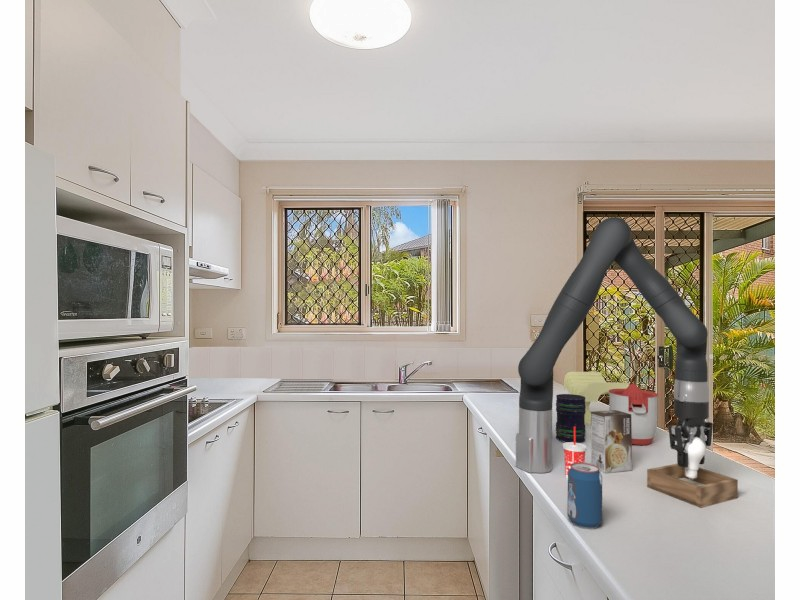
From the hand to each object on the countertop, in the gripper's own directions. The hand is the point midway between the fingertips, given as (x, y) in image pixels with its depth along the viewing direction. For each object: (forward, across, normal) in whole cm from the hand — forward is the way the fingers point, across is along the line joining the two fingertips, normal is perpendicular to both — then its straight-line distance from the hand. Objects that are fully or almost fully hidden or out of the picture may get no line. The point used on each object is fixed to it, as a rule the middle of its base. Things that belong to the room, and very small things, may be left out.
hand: (690, 464), depth 121 cm
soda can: (+7, +38, +2) cm, 39 cm away
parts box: (+7, 0, 0) cm, 7 cm away
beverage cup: (+7, +20, -19) cm, 28 cm away
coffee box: (+7, +4, -21) cm, 23 cm away
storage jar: (+7, -8, -49) cm, 50 cm away
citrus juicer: (+7, -26, -38) cm, 47 cm away
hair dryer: (+7, -39, -67) cm, 78 cm away
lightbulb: (+4, 0, 0) cm, 4 cm away
